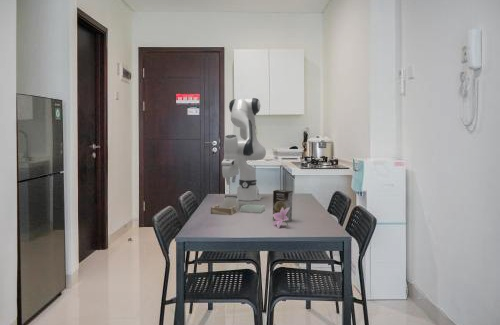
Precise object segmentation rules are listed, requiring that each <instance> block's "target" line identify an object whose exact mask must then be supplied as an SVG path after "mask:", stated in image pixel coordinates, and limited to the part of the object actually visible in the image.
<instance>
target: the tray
mask: <svg viewBox="0 0 500 325" xmlns="http://www.w3.org/2000/svg"><path fill="white" fill-rule="evenodd" d="M265 210H266V205H265V204H263V205H262V204H244V205H242V206H240V213H250V214H251V213H252V214H261V213H263V212H265Z"/></svg>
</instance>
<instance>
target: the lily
mask: <svg viewBox="0 0 500 325" xmlns="http://www.w3.org/2000/svg"><path fill="white" fill-rule="evenodd" d="M289 208H290V207H289ZM289 208H286V209H285V210H284V209H283V207H282V209H281V211H280V213H275V214H273V213H272V218H273V217H274V219H276V220H274V222H273V224H272V226H273V227H274V226H277V229H280V227H281V224H282V223H283V222H285V223H286V225H287V226H289V224H288V222H286V220H288V217H287V216H286V213H287V212H288V210H289Z"/></svg>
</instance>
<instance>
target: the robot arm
mask: <svg viewBox="0 0 500 325" xmlns="http://www.w3.org/2000/svg"><path fill="white" fill-rule="evenodd" d="M228 109H229V112H230V121H231V123H232V124H233V125H234V126H235V127H238V128H239V136H240V138H241V139H238V136H237V135H235V134H228V135H225V136H224V139H223V140H224V141H223V152H224V155H223V160H222V161H221V165H220V166H221V171H222V172H221V174H222V178H223V179H225V182H226V185H228V186H229V185H231V183H233V184H234V183H236V179H237V175H239V180H238V183H239V184H238V187H237V188H236V196H237V198H238V201H248V202H251V201H261V200H262V198H263V197H262V195H259V194H260V190H259V188H258V186H257V179H256V169H255V167H254V166H253V165H251V164H249V163H247V161H261V160H263V159H265V157H266V153H267V150H266V148H265V147H264V146H263V145H262V143H260V142H259V141H258V138H257V133H256V116H257V114H258V113H259V112H260V110H261V102H260V100H259V98H256V97H253V98H250V97H244V98H237V99H235V98H234V99H232V100H231V101H230V102H229V105H228ZM230 178H231V179H230Z"/></svg>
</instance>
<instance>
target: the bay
mask: <svg viewBox="0 0 500 325" xmlns="http://www.w3.org/2000/svg"><path fill="white" fill-rule="evenodd" d="M235 213H237V210H236V206H233V207H231V208H223V207H220V204H216V205H213V206H211V207H210V214H212V215H226V214H228V216H231V215H233V214H235Z"/></svg>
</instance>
